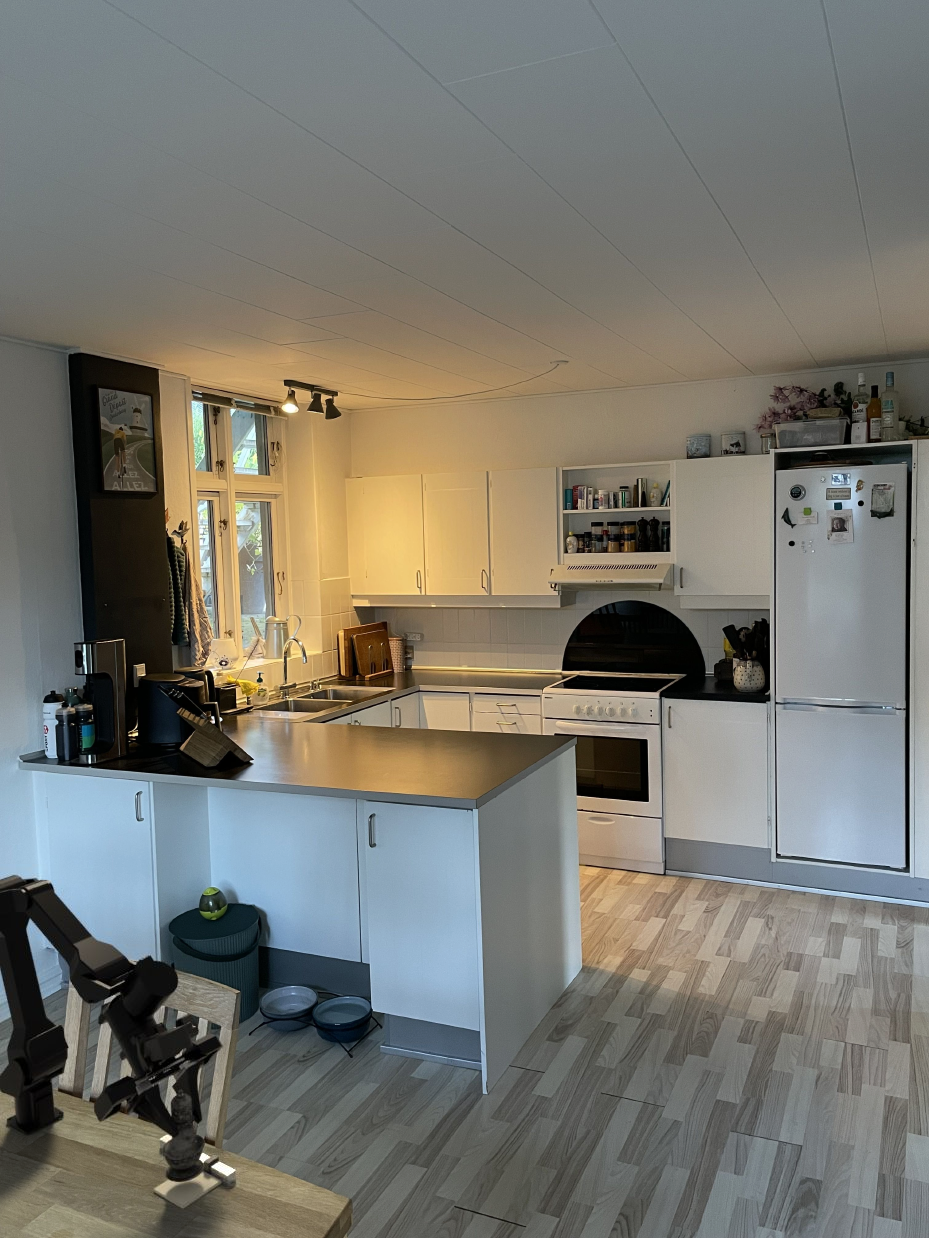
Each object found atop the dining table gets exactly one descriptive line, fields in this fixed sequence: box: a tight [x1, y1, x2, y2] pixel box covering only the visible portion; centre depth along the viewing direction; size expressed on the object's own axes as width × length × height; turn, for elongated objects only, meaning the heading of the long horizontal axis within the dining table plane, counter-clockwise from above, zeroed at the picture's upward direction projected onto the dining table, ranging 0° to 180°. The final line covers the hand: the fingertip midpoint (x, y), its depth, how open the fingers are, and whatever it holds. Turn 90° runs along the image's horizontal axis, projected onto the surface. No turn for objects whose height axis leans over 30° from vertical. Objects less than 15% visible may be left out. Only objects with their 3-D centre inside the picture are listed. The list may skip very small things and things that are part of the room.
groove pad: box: [153, 1171, 222, 1209], centre depth 139 cm, size 7×7×1 cm
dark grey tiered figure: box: [161, 1089, 206, 1182], centre depth 139 cm, size 6×6×12 cm
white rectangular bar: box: [159, 1134, 237, 1186], centre depth 145 cm, size 16×2×2 cm, turn 53°
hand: (188, 1128), depth 138 cm, fingers closed on dark grey tiered figure, 4 cm apart
